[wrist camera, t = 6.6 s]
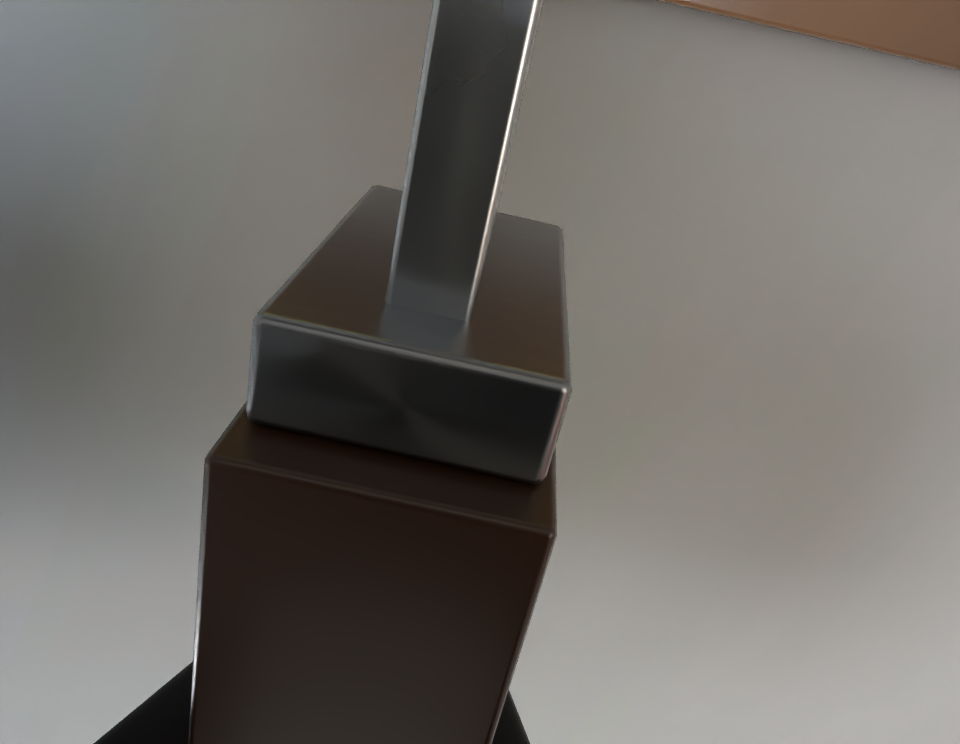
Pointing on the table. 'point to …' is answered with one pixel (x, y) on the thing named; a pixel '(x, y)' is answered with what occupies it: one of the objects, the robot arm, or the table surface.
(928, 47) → the butter board
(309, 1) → the table surface
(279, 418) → the knife
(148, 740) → the robot arm
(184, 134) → the table surface
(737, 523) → the table surface
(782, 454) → the table surface
